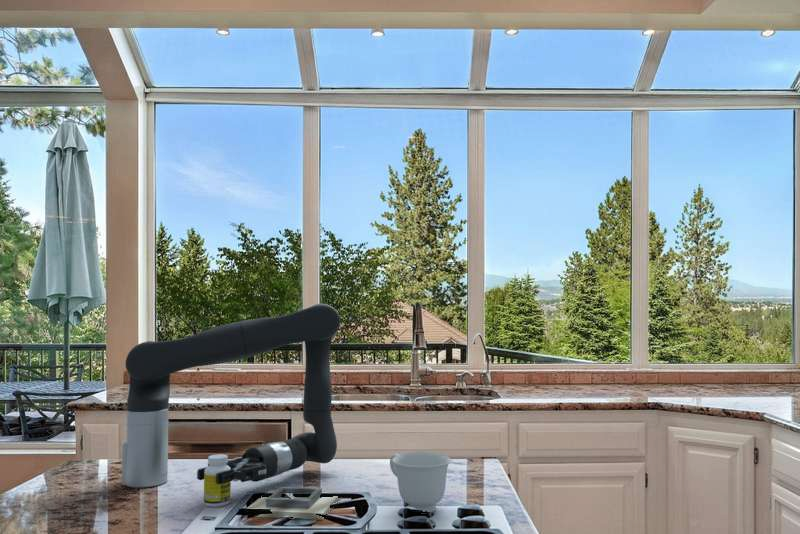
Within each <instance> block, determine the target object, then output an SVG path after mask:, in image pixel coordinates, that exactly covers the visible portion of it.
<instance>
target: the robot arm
mask: <svg viewBox="0 0 800 534" xmlns="http://www.w3.org/2000/svg"><path fill="white" fill-rule="evenodd" d="M340 325H341V316H340V314H339V312H338V311H337V310H336V308H334V307H333V306H331V305H330V304H327V303H316V304H314V305H312V306H309V307H307V308H303V309H300V310H297V311H294V312H291V313H287V314H282V315H277V316H269V317H267V316H266V317H260V318H259V317H258V318H253V319H252V318H251V319H245V320H240V321H236V322H229V323H226V324H223V325H219V326H215V327H212V328H209V329H207V330H204V331H200V332H198V333H195V334H193V335H190V336H186V337H182V338H178V339H169V340H164V341H154V340H151V341H148V340H147V341H144V342H140V343H139V344H136V345H135V346H134V347H133V348H132V349H130V351H129V352H128V354H127V355H126V358H125V359H126V360H125V369H126V371H127V373H128V374H129V387H128V388H129V389H128V397H127V400H126V401H127V402H126V441H125V442H123V444H122V448H121V449H122V452H121V455H122V457H121V486H127V487H129V488H150V487H156V486H160V485H162V484H165V483H166V482H168V475H169V471H168V467H169V466H168V465H169V464H168V463H169V459H168V458H169V406H170V405H169V404H170V392H171V391H170V390H171V374H174V373H178V372H180V371H184V370H187V369H191V368H197V367H198V368H199V367H204V366H205V367H206V366H212V365H218V364H219V365H220V364H223V363H224V364H225V363H230V362H231V363H232V362H235V361H239V360H244V359H248V358H252V357H254V356H259V355H261V354H265V353H268V352H270V351H273V350H276V349H279V348H281V347H284V346H288V345H291V344H296V343H303V342H304V349H305V351H304V352H305V372H304V373H305V375H304V388H303V407H302V408H303V410H302V411H303V413H302V418H303V420H304V422H305V423H307V424H310V425H311V426H312V427H313V430H314V432H312V431H311V432H302V433H299V434H297V435H295V436H293V437H292V438H290V439H285V440H281V441H276V442H275V441H273V442H269V443H264V444H260V445H257V446H252V447H249V448H247V449H246V450H245V451H244V453H243V455H242V456H237V457H234V458H230V459H228V461H227V463H226V465H228V466H229V467H230V468H231V470H227V471H223V472H219V473H217V474H216V483H217V484H223V483H226V482H230V481H231V482H238V481H240V482H241V483H246V482H255V483H256V482H260V481H263V480H267V479H270V478H273V477H274V478H275V477H276V476H279V475H282V474H284V473H286V472H289V471H292V470H296V469H299V468H300V467H302V466H303V465H304V464H305V462H311V463H317V464H329V463H330V462H332V460H333V459H334V457H335V455H336V452H337V449H338V443H337V441H338V440H337V436H336V432H335V428H334V423H333V419H332V398H333V397H332V395H333V394H332V378H331V367H330V364H331V363H330V358H331V357H330V356H331V344H332V340H333V336H334V335H336V333H337V332H338V330H339V328H340ZM208 466H209V464H208V463H207V466H206V467H201V468H198V469H197V471H196V479H197V480H198V481H204V471H205V469H206V468H207V467H208Z"/></svg>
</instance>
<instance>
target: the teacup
mask: <svg viewBox="0 0 800 534" xmlns="http://www.w3.org/2000/svg"><path fill="white" fill-rule="evenodd" d="M451 462H452V459H451V458H450V457H449V456H448V455H445V454H442V453H436V452H426V451H425V452H424V451H422V452H421V451H420V452H419V451H418V452H406V453H402V454H399V453H394V454H392V455H391V457H390V458H389V466H390V467H389V468H390V470H391V472H392V474H393V475H394V476H395V477H396V478H397V485H398V491H399V496H400V497H401V500H403V501H404V502H405V503H406V504H408V507H414V508H416V509H419V510H422V511H423V512H425V511H430V513H433V512H435V511H436V510H437V505H436V504H438V503H439V502H440V501H442V500H443V497H444V495H445V492H446V485H447V483H446V482H447V472H448V468H449V464H450V463H451ZM408 507H407V508H408Z"/></svg>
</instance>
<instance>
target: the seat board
mask: <svg viewBox="0 0 800 534" xmlns="http://www.w3.org/2000/svg"><path fill="white" fill-rule="evenodd" d="M266 493H273V494H272V495H271V496H269V497H262V496H261V498H260V497H259V498H258V499H256V500H255V501H254V502H252V503H251V504H250V505H249V506H247V507H246V508H264V509H271V510H270V511H271V512H272V513H273V514H261V515H258V516H255V517H256V518H272V519H273V518H279V519H281V518H280V517H284V516H291V517H293V518H292V519H295V518H302V520H316V521H317V520H318V521H319V520H320V521H322V520H324V519H325V518H324V517H322V516H319V515H316V514H321V515H322V514H327V515H328V514H329V513H330V512H331V511H332V510H333V508H330V505H331V504H333V503H336V502H338V501H340V500H341V499H339V498H338V496H333V497H321V498H320V495H321V493H337V491H335V492H333V491H330V492H329V491H323V488H321V487H300V486H299V487H298V486H296V487H295V486H281V487H279V488H278V489H270V490H268V491H267V492H266ZM283 493H289V494H290V493H300V494H311V495H310V496H309V497H293V498H294V499H289V498H282V497H281V495H282V494H283ZM338 503H339V502H338Z"/></svg>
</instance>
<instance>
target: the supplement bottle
mask: <svg viewBox="0 0 800 534" xmlns="http://www.w3.org/2000/svg"><path fill="white" fill-rule="evenodd" d="M228 458H229V457H228V454H223V453H219V454H211V455H209V456H208V457H207V466H206V467H207V468H206V469H205V471H204V479H203V504H204V506H205V507H210V508H211V507H212V508H217V507H222V506H226V505H228V504H229V503H230V502H231V485H232V484H231V482H232V481H230V482H226V483H223V484H217V483H216V474H217V473H219V472H223V471H227V470H231V468H230V467H229V466H228V465H226V463H227V461H228V460H229V459H228ZM208 464H209V466H208Z"/></svg>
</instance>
